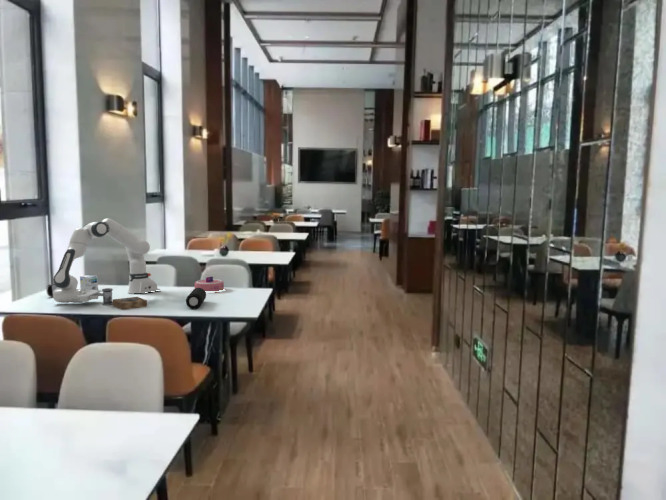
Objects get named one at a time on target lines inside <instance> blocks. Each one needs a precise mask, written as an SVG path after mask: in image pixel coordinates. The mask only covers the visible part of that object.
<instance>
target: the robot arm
mask: <svg viewBox="0 0 666 500" xmlns="http://www.w3.org/2000/svg"><path fill="white" fill-rule="evenodd" d="M105 235H107V236H108V237H109V238H111V239H112V240H114V241H115V242H117V243H118V244H119V245H122V246H123V247H125V250H126V252H127V254H126V255H127V258H128V264H129V274H128V278H129V285H128V291H127V293H128V294H134V293H145V292H151V291H156V290H161V288H158V284H157V282H156V281H155V280H154V279H152V278H150V277H151V276H152V274H151V273H150V272H149V273H148V272H147V263H146V260H145V257H144V255H145V254H148V253H149V251H150V250H151V249H150V248H151V246H150V245H151V244H150V243H149V242H148V241H146V240H145V239H143V238H142V237H141V236H139V235H137V234H135V233H133V232H132V231H130V230H129V229H127V228H126V227H124V226H123V225H121V223H119V222H117V221H115V220H114V219H112V218H110V217H107V218H104V219H102V220H101V221H93V222H89V223H85V225H83V227H77V228H75V229H74V230H73V232H72V234H71V237H70V239H69V243H68V246H67V249H66V251H65V253H64V254H63V258H62V260H61V262H60V265H59V268H58V270H57V271H56V273H55V274H54V276H53V277H52V284H54V285H55V286H56V287H57V288H56V290H54V291H53V297H52V298H53V300H54V301H55V302H56V303H65V304H67V303H68V304H69V303H73V304H82V303H84V302H85V303H87V302H89V301H91V300H98V299H99V297H103V292H100V290H87V289H80V288H78V284H79V282H78V279H77V277H75V276H73V275H71V274H70V271H71V267H72V264H73V262H74V261H75V260H76V259H79V258H81V257H83V256H85V253H86V252H87V249H88V248H87V247H88V245H89V242H90V240H93V239H94V240H95V239H99V238H102V237H104V236H105ZM134 295H135V294H134Z"/></svg>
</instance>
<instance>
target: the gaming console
mask: <svg viewBox="0 0 666 500" xmlns="http://www.w3.org/2000/svg"><path fill="white" fill-rule="evenodd" d="M56 288H57V287H56V286H55V285H54V283H50V284H48V285H47V286H46V289H45V290H46V295H47V296H48V297H49V298H53V291H54V290H56Z"/></svg>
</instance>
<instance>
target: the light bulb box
mask: <svg viewBox="0 0 666 500" xmlns="http://www.w3.org/2000/svg"><path fill="white" fill-rule="evenodd" d="M98 282H99V281H98V275H86V274H85V275H80V276H79V285H80V288H79V289H87V290H97V291H99V283H98Z"/></svg>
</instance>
